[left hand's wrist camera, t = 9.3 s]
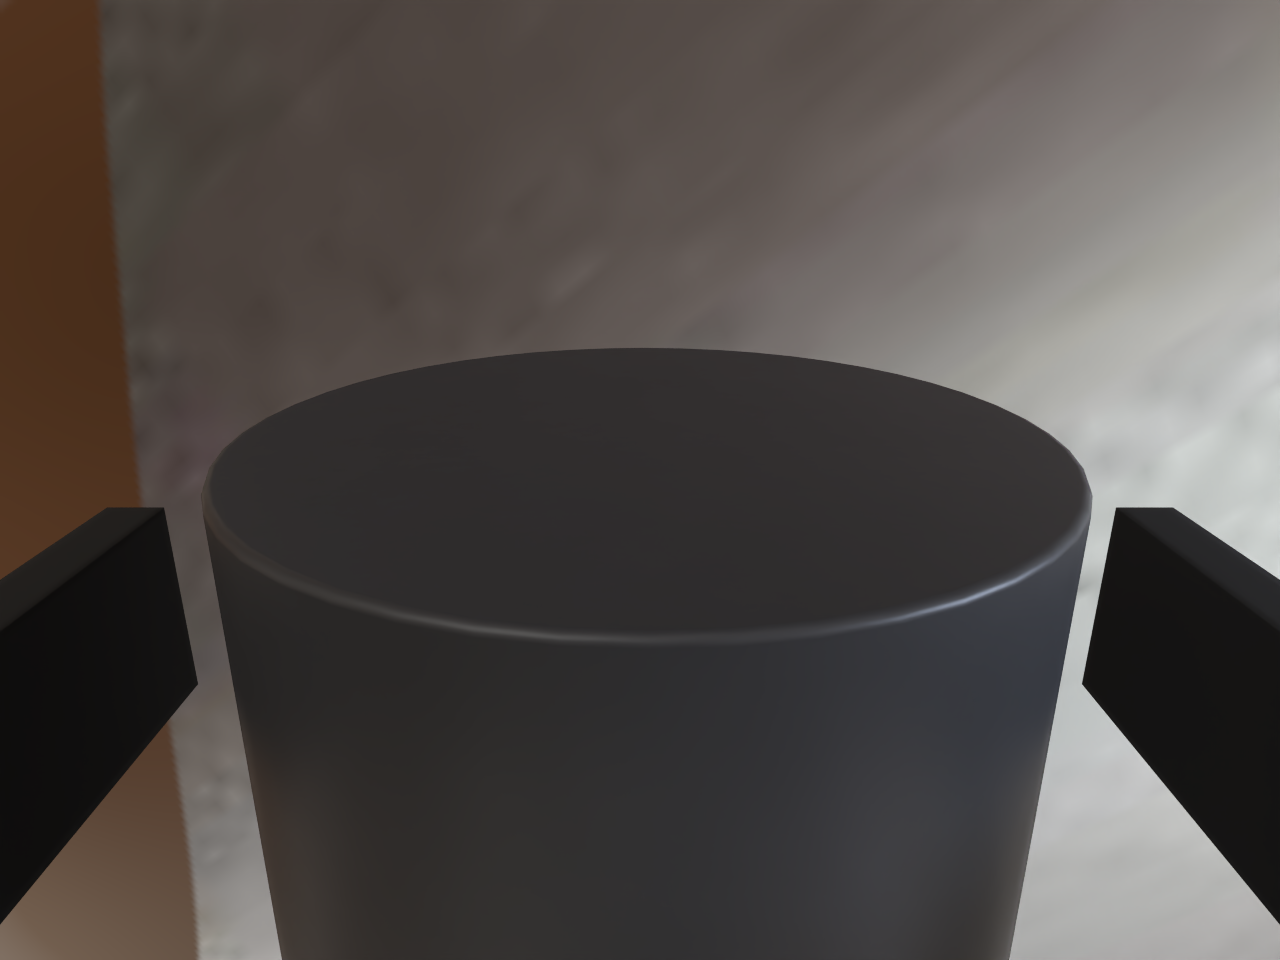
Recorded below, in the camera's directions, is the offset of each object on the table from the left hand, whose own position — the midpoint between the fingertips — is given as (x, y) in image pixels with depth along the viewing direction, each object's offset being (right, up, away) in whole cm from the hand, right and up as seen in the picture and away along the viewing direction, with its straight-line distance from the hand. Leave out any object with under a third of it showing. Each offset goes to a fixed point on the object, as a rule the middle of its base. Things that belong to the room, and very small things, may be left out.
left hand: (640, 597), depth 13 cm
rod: (0, -9, +5) cm, 10 cm away
